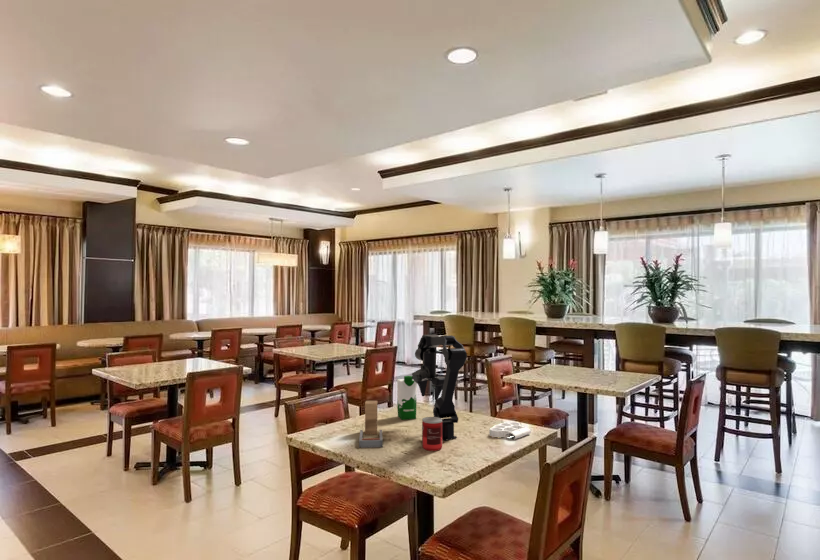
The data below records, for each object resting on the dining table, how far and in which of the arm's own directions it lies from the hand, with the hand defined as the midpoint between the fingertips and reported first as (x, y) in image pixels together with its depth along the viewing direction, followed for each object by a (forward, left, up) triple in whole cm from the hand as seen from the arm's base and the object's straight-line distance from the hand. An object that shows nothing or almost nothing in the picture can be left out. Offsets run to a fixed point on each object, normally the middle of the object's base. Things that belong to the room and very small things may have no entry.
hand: (429, 398), depth 215 cm
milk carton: (+20, -2, -13) cm, 24 cm away
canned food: (-23, +17, -13) cm, 32 cm away
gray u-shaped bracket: (-2, +32, -13) cm, 34 cm away
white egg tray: (-27, -21, -14) cm, 37 cm away
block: (+8, +25, -13) cm, 29 cm away
